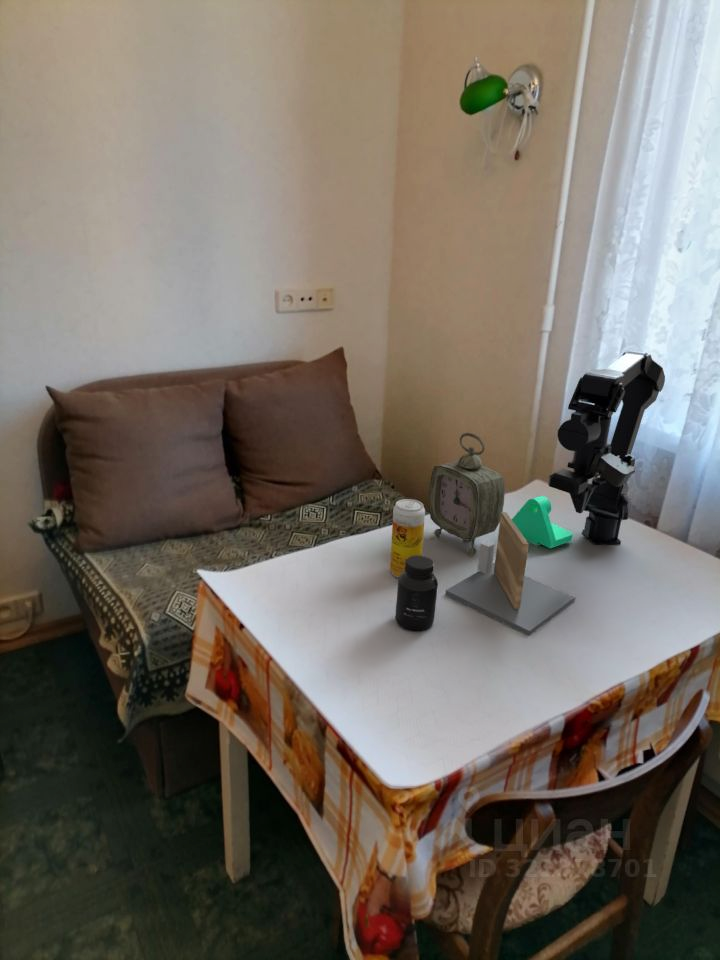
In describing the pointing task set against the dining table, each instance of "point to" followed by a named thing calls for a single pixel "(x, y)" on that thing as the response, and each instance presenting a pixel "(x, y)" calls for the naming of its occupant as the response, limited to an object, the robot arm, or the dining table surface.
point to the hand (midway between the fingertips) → (579, 512)
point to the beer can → (406, 533)
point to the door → (511, 559)
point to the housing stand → (492, 600)
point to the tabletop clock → (466, 496)
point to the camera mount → (540, 524)
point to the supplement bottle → (416, 595)
